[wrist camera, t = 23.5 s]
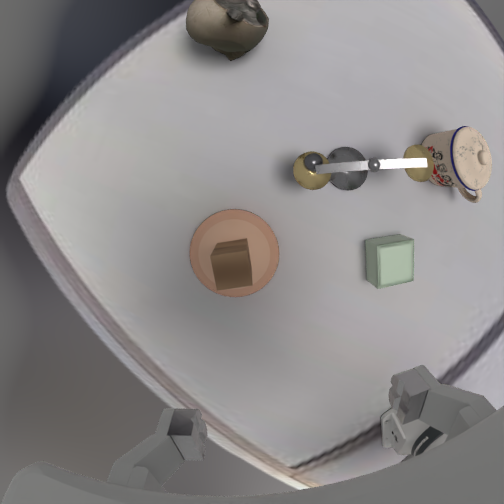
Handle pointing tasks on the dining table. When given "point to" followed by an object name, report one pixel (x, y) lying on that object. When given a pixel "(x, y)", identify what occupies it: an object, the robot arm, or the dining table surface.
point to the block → (231, 264)
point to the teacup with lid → (460, 160)
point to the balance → (357, 167)
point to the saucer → (228, 229)
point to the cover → (389, 260)
